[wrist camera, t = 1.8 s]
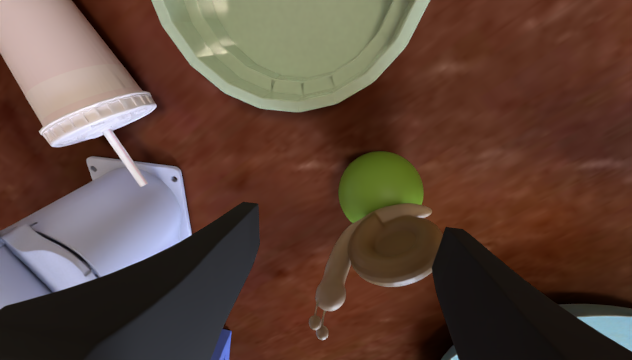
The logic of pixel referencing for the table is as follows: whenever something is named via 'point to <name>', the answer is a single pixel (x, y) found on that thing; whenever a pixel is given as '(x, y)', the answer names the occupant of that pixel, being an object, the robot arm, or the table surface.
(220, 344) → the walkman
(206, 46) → the bowl
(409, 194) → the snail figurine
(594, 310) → the teal plate
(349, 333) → the table surface
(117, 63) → the smoothie
